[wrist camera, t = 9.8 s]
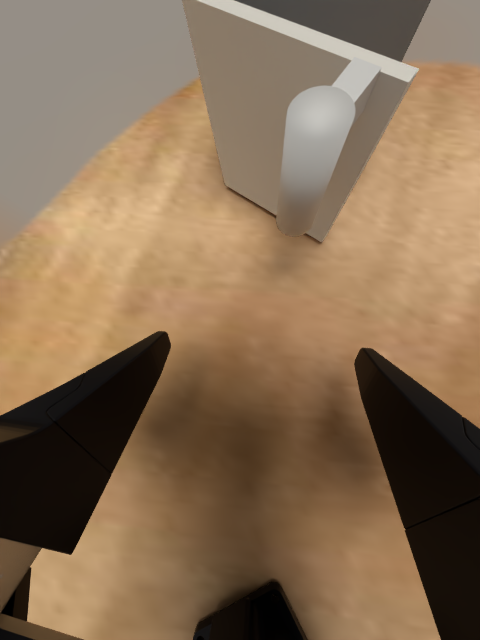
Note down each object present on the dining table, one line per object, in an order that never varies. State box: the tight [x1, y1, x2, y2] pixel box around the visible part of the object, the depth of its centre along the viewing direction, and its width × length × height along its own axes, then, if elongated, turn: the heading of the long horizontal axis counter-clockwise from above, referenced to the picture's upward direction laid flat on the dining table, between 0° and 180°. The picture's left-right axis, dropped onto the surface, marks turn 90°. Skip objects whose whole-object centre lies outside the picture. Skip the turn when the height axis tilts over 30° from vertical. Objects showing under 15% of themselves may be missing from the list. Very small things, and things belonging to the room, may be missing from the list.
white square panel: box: [182, 0, 419, 242], centre depth 12 cm, size 4×10×10 cm, turn 52°
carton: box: [234, 0, 431, 62], centre depth 13 cm, size 5×10×10 cm, turn 85°
